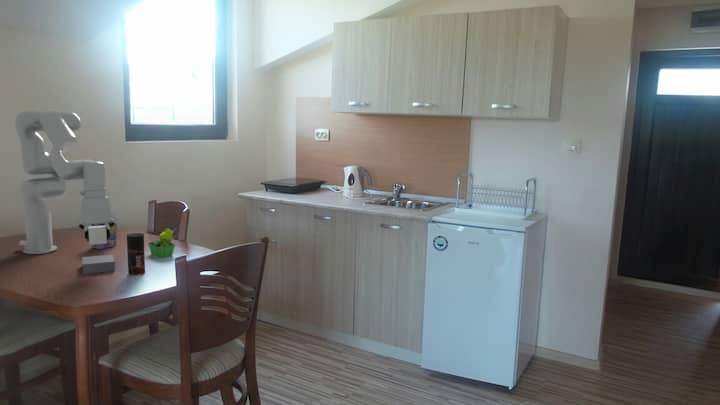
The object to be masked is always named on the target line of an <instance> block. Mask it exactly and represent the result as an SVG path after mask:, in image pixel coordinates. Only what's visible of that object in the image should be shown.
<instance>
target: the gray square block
mask: <svg viewBox="0 0 720 405" xmlns="http://www.w3.org/2000/svg"><path fill="white" fill-rule="evenodd" d="M81 258H82V259H81V262H82V274H84V275H85V274H95V273H104V272H115V271H116V261H115V258H114V255H113V254H106V255H104V254H103V255H95V256H84V257H81Z"/></svg>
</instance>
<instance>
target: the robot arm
mask: <svg viewBox="0 0 720 405" xmlns="http://www.w3.org/2000/svg"><path fill="white" fill-rule="evenodd" d="M81 122H82V121H81V119H80V116H78V115H77V114H76V113H74V112H71V111H46V110H43V111H41V110H40V111H39V110H27V111H22V112H19V113H18V114H17V115H16V116H15V121H14V126H15V130H16V133H17V136H18V138H19V139H18V140H19V141H20V153H21V163H22V164H21V165H22V169H23V172H24V173H25V174H26V175H29V176H30V175H31V176H39V175H50V176H47V177H33V178H28V179H25V180H23V181H22V182H21V183H20V188H19V191H20V194H21V198H22V202H23V207H24V208H23V209H24V220H25V223H24V224H25V236H26V240H20V241H19V243H18V247H24V248H23V250H22V252H23V253H24V254H27V255H41V254H42V255H43V254H44V255H45V254H49V253H53V252H56V251H57V250H58V246H56V245H54V244H53V227H52V211H51V208H50V207H49V205H48V204H47V203H46V202H45V201H46V200H54V199H56V200H57V199H61V198H64V197H65V196H66V194H67V192H68V183H67V181H75V180H82V182H83V190H81V191H79V195H80V196H83V197H82V198H81V203H80V204H81V207H80V210H81V212H80V214H79V215H78V217H76V219H75V220H74V221H73V223H74V224H75V226H78V227H79V228H80V229H81V230H82V231H83V232H84V240H86V241H87V242H89V231H88V226H90V225H91V224H102V223H104V224H105V225H106V237H107V240H108V237H110V228H111V227H112V226H113V225H114V224H115V223H116V224H117V222H119V218H118V217H117V216H116V215H114V213H112V210H111V203H110V198H109V196H107V189H106V188H107V187H106V169H105V168H106V166H105V163H104V162H103V161H97V160H96V161H95V160H93V159H70V160H66V159H65V157H64V155H63V154H64V153H66V152H68V151H70V150H72V149H74V148H75V146H76V145H77V141H78V140H77V137H76V135H75V134H74V133H78V132H79V131H80V129H81V127H82V123H81ZM38 132H39V133H45V134H46V135H47V137H48V139H49V141H50V142H51V143H52V145H53V147H52V149H51V151H46V148H45V147H46V146H45V140H44V139H43V137H42V136H41V134H39V133H38ZM111 219H114V220H113V221H112V222H111ZM80 221H81V222H82V223H81V222H80ZM109 222H111V223H110V224H109Z"/></svg>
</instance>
